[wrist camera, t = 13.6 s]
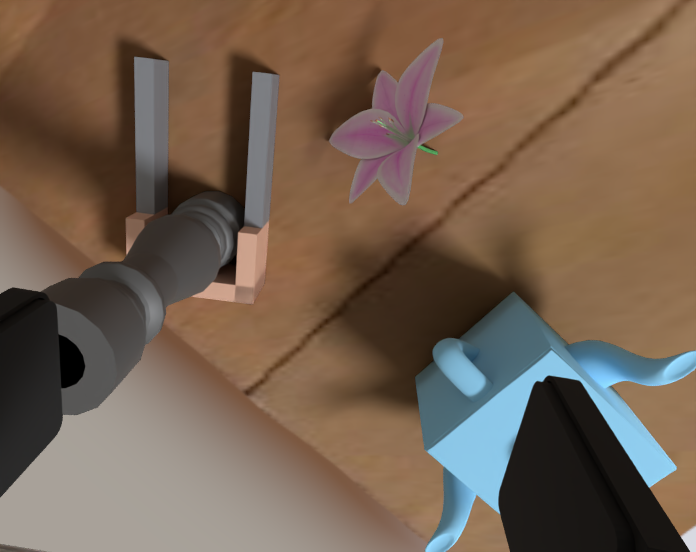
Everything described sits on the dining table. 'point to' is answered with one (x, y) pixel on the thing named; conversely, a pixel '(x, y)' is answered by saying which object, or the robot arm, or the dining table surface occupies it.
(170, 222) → the candle holder
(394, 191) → the lily
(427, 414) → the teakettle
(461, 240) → the dining table surface
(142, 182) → the guide channel
